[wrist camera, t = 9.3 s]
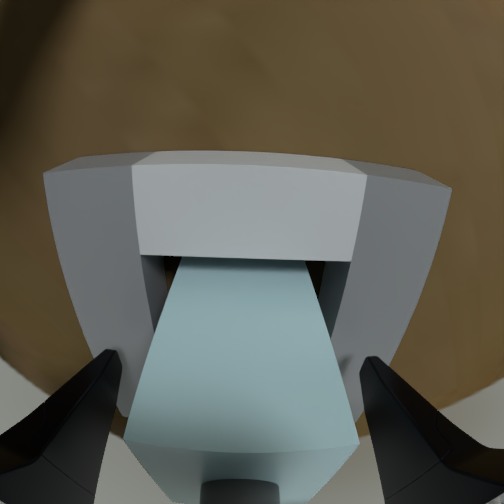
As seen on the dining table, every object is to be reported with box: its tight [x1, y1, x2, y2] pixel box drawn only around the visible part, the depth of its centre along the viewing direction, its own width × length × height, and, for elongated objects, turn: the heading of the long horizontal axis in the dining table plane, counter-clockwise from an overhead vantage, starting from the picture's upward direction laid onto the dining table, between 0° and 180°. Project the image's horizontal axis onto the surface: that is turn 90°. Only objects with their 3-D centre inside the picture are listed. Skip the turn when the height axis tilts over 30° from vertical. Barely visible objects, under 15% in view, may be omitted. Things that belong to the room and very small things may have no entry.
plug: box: [123, 256, 360, 504], centre depth 9 cm, size 4×6×10 cm
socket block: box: [43, 151, 452, 422], centre depth 12 cm, size 13×13×2 cm
